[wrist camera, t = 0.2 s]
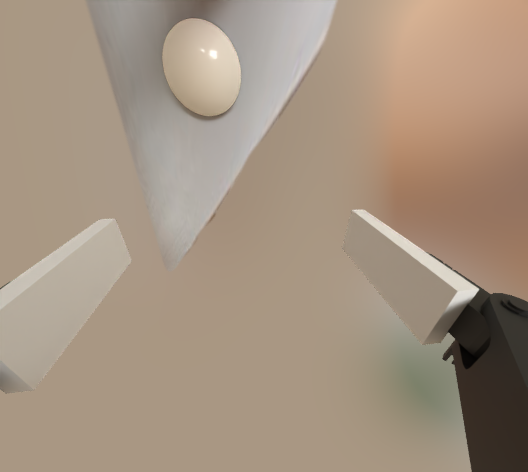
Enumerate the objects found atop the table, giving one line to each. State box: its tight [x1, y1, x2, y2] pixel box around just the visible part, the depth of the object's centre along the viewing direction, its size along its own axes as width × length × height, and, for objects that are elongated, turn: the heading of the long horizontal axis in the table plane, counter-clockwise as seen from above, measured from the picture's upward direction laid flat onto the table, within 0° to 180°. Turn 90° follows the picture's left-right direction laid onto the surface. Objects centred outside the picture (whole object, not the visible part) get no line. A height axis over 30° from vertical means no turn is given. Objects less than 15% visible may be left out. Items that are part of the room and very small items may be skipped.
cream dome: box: [162, 18, 241, 116], centre depth 27 cm, size 10×10×1 cm
